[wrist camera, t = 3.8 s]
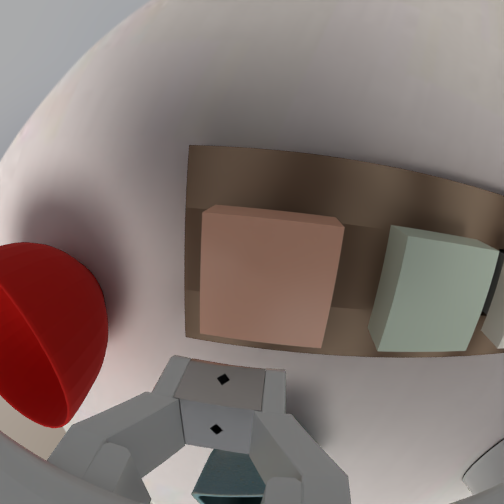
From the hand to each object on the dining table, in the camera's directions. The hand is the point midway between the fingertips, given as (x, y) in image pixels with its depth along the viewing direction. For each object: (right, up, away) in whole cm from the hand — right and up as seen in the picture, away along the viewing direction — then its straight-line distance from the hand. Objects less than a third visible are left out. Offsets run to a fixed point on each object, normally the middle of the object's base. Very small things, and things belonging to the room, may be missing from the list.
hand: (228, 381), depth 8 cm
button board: (+11, +3, +11) cm, 16 cm away
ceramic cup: (-16, -1, +15) cm, 22 cm away
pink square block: (+2, +3, +10) cm, 11 cm away
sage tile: (+11, +2, +10) cm, 15 cm away
